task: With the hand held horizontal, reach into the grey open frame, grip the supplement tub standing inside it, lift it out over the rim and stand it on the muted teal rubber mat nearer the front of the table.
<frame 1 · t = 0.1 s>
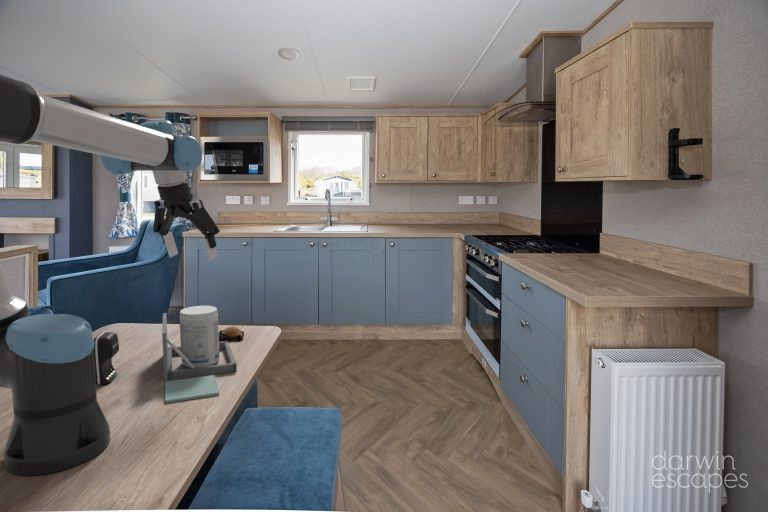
hand: (193, 256, 126), 28 cm above the table, tool tilted 20°, fingers open, 13 cm apart
mat: (191, 389, 106), on the table
grey open frame: (200, 362, 123), on the table
battery charger: (108, 380, 110), on the table
bread roll: (230, 339, 145), on the table
supplement tub: (200, 363, 123), resting in grey open frame
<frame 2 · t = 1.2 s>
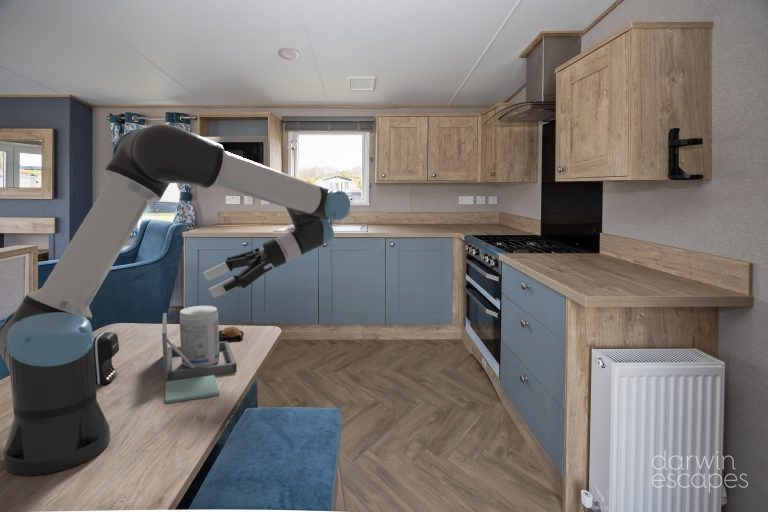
hand: (207, 284, 120), 21 cm above the table, tool tilted 65°, fingers open, 13 cm apart
nothing on the table moved.
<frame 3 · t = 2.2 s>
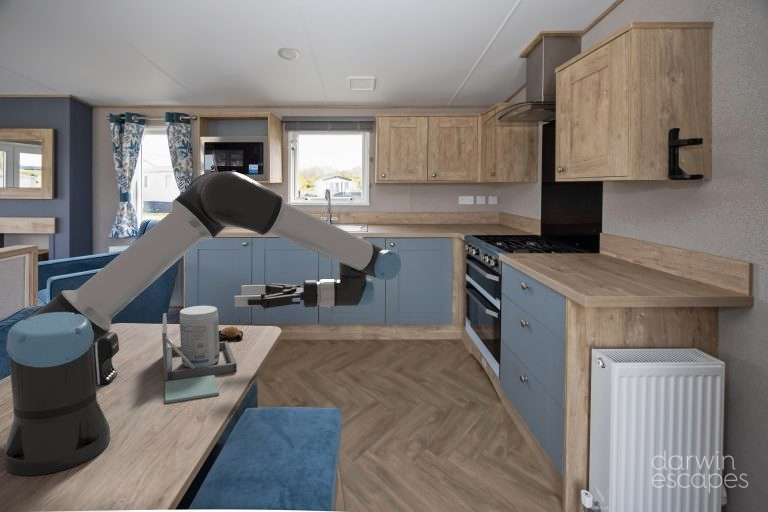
hand: (238, 295, 122), 18 cm above the table, tool horizontal, fingers open, 13 cm apart
nothing on the table moved.
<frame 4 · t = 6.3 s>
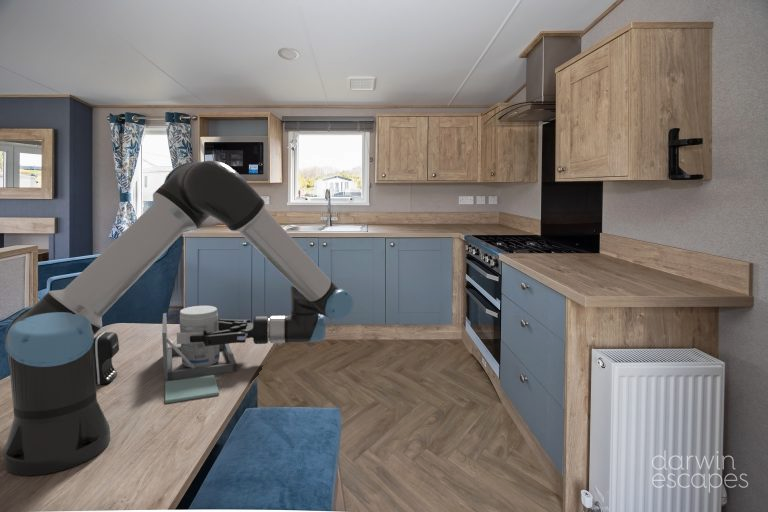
hand: (182, 332, 121), 9 cm above the table, tool horizontal, fingers closed on supplement tub, 9 cm apart
supplement tub: (200, 363, 123), resting in grey open frame, touching gripper
when the fingers open (11 cm above the table, at t = 12.5 s): supplement tub drops 1 cm, resting on mat.
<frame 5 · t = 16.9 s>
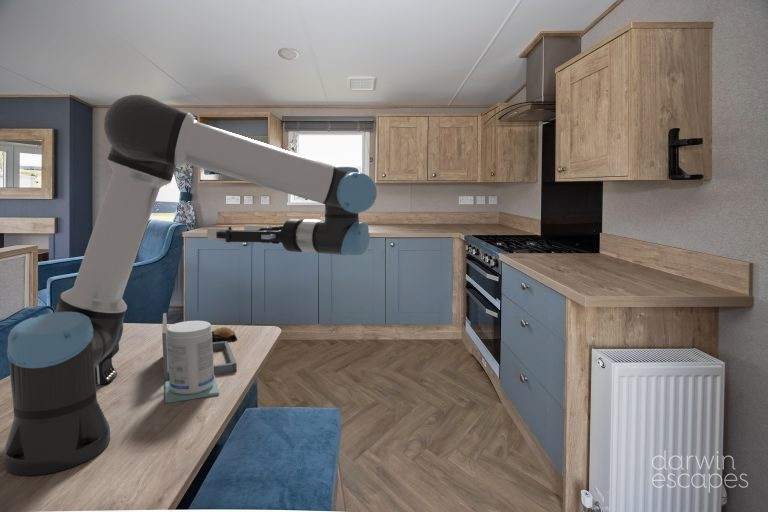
hand: (227, 231, 112), 36 cm above the table, tool horizontal, fingers open, 13 cm apart
bread roll: (222, 340, 144), on the table
supplement tub: (192, 388, 105), resting on mat
everything else where it was.
at the end: supplement tub inside the target area on the mat (0.2 cm from its centre), point 0.4 cm above the mat's base; supplement tub tilted 0°; the gripper is holding nothing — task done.
